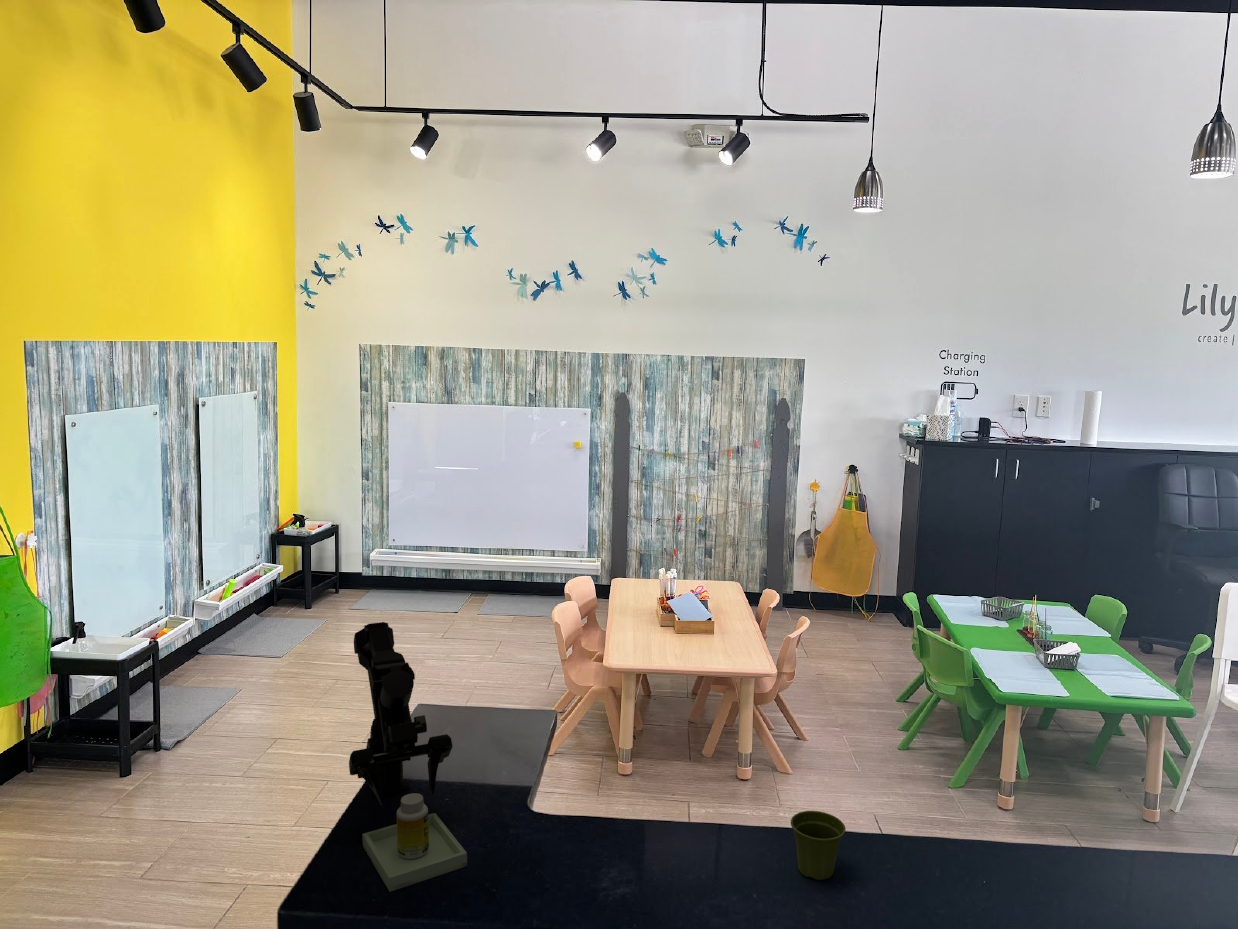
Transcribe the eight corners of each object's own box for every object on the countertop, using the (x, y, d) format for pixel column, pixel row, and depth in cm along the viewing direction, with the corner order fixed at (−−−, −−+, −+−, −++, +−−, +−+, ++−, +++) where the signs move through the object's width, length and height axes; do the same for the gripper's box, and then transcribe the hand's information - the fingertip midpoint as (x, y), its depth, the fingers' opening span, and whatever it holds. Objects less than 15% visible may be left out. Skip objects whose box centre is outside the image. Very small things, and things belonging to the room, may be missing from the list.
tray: (362, 846, 158) (362, 834, 158) (435, 825, 166) (434, 812, 166) (389, 892, 145) (389, 878, 145) (467, 866, 153) (466, 853, 152)
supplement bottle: (429, 858, 153) (428, 804, 152) (397, 862, 152) (395, 808, 151) (428, 841, 159) (427, 789, 158) (397, 845, 158) (396, 792, 156)
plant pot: (824, 851, 158) (826, 807, 157) (854, 880, 149) (856, 834, 148) (779, 860, 155) (781, 815, 154) (806, 891, 146) (808, 843, 145)
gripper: (348, 710, 157) (358, 795, 149) (449, 694, 165) (464, 774, 156) (344, 733, 165) (354, 815, 157) (441, 717, 173) (455, 794, 164)
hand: (407, 799), depth 158 cm, fingers open, 9 cm apart
